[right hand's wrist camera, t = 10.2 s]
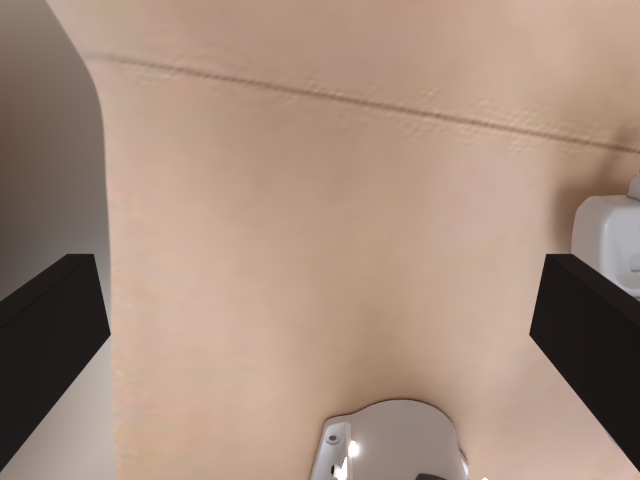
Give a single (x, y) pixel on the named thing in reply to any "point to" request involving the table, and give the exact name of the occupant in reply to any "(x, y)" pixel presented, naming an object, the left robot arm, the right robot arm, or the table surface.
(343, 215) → the table surface
